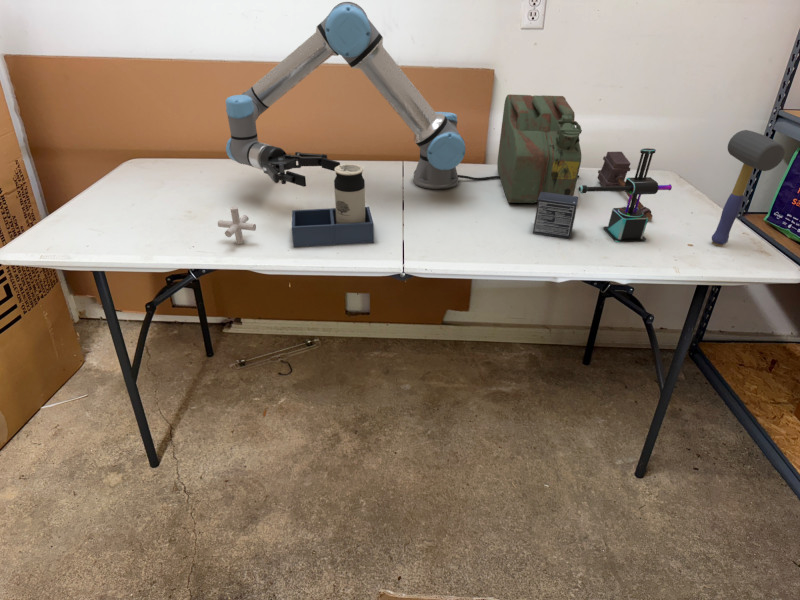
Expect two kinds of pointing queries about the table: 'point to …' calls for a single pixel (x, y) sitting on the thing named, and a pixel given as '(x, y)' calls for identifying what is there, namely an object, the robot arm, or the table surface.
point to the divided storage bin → (329, 228)
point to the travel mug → (349, 194)
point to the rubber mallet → (746, 173)
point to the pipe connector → (236, 225)
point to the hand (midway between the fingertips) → (322, 174)
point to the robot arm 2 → (630, 220)
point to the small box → (555, 214)
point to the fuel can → (538, 147)
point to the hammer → (618, 175)
